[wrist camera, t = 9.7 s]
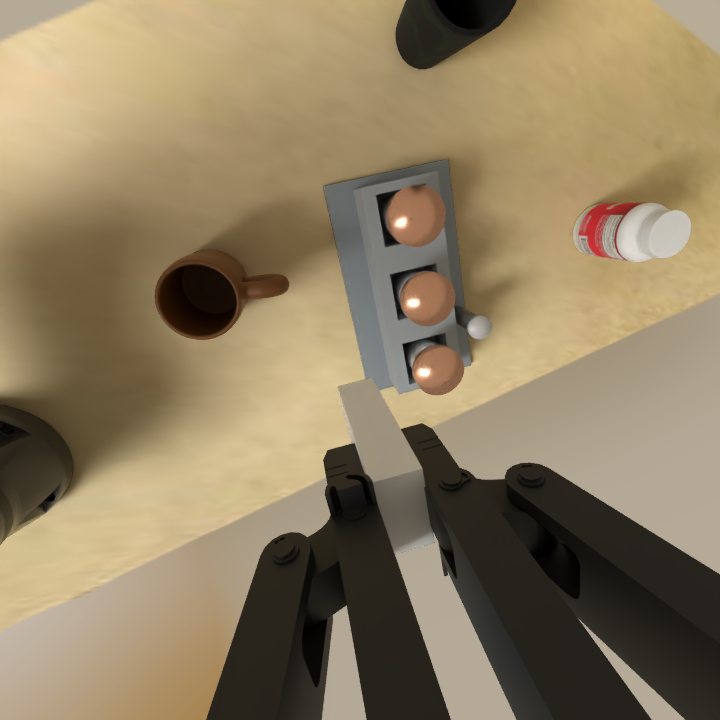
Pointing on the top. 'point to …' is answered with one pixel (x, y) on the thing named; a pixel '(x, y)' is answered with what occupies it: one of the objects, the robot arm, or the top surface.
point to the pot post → (473, 323)
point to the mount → (392, 270)
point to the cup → (445, 27)
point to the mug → (209, 293)
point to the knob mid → (423, 296)
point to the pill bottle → (631, 231)
